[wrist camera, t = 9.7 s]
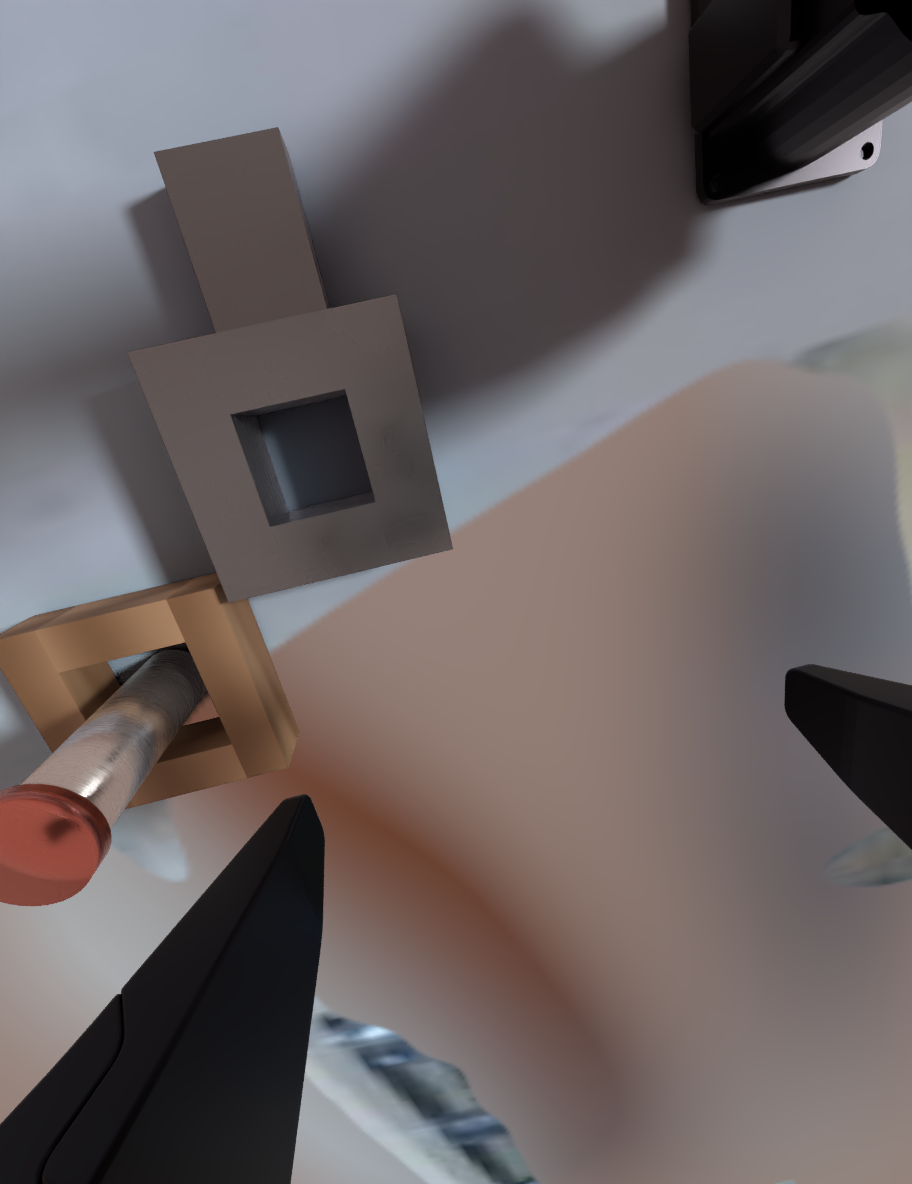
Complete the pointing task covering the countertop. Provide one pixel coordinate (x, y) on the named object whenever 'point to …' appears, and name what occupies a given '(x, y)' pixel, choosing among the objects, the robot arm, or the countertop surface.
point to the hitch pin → (91, 783)
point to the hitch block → (282, 382)
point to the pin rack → (143, 623)
